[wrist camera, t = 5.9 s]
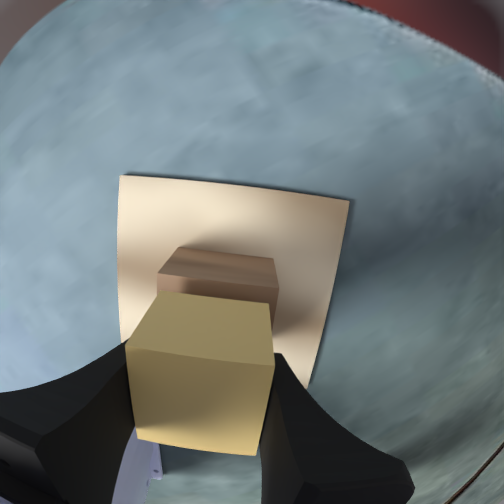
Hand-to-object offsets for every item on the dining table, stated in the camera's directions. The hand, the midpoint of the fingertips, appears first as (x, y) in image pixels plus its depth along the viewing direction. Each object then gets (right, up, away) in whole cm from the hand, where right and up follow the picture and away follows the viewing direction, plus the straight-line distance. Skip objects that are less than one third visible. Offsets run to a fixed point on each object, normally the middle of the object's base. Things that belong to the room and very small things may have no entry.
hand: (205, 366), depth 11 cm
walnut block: (0, +2, +6) cm, 6 cm away
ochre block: (0, 0, +1) cm, 2 cm away
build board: (0, +2, +7) cm, 7 cm away
